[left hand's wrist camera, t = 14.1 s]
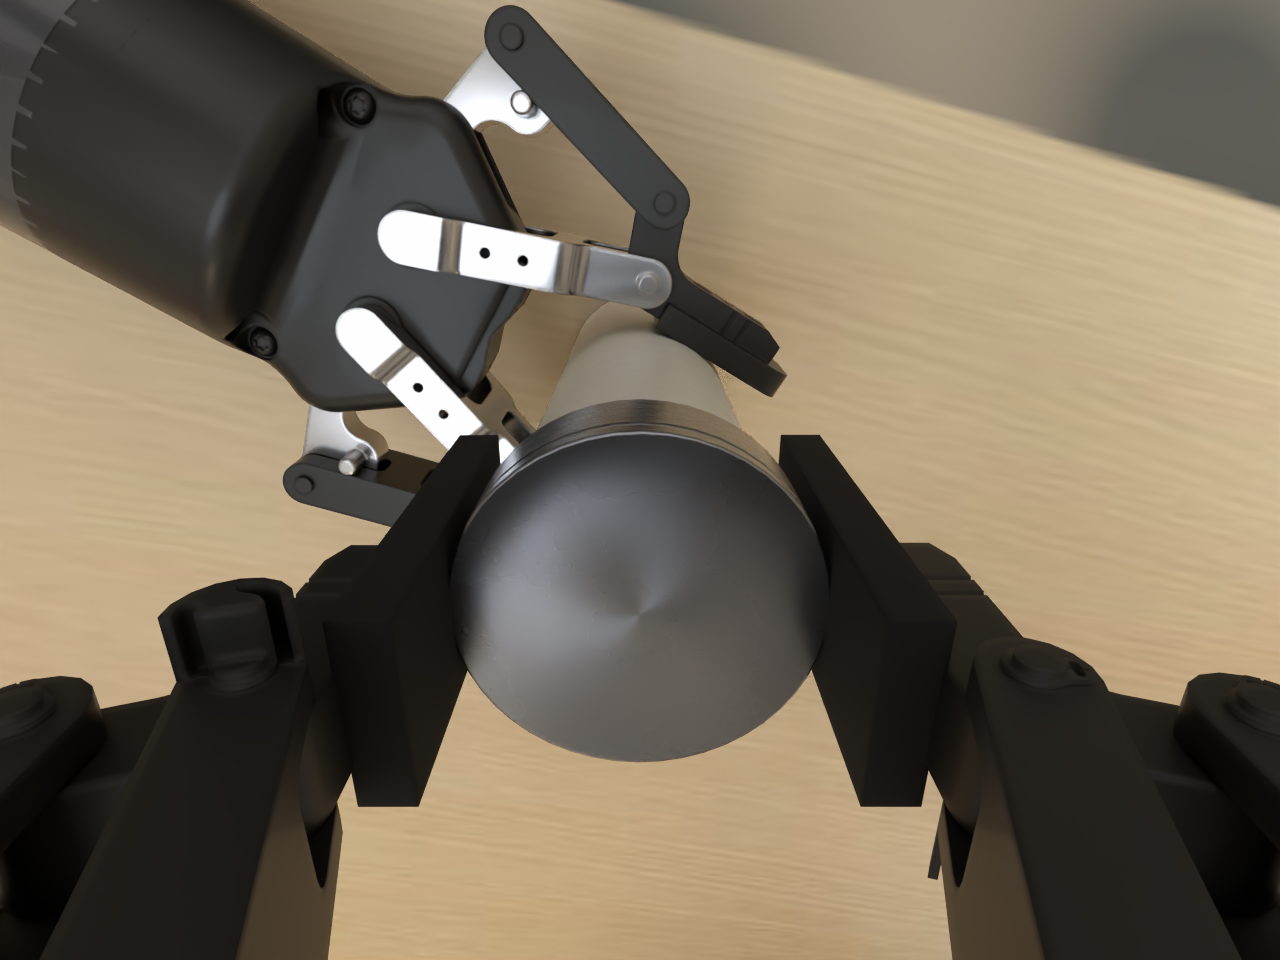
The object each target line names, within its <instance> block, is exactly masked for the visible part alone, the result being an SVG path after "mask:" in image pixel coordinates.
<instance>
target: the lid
mask: <svg viewBox="0 0 1280 960" xmlns="http://www.w3.org/2000/svg"><path fill="white" fill-rule="evenodd" d="M449 593H450V602H451V611H452V619H453V628H454V636H455V642H456V645H457V648H458V651H459V654H460V656H461V658H462V660H463V662H464V664H465V666H466V668H467V670H468V672H469V673H470V675H471V676H472V678H473V679H474V681H475V682H476V683H477V685H478V686H479V688H480V689H481V691H482V692H483V693H484V694H485V695H486V696H487V697H488V698H489V699H490V701H491V702H492V703H493V704H494V705H495V706H496V707H497V708H498V709H499V710H501V711H502V712H503V713H504V714H505V715H506V716H508V717H509V718H510V719H511V720H512V721H514V722H515V723H517V724H518V725H520V726H521V727H522V728H524V729H525V730H527V731H528V732H530V733H532V734H534V735H536V736H537V737H539V738H541V739H543V740H545V741H547V742H549V743H551V744H554V745H556V746H559V747H561V748H564V749H566V750H569V751H572V752H576V753H579V754H583V755H587V756H590V757H595V758H601V759H607V760H613V761H627V762H653V761H665V760H672V759H679V758H684V757H688V756H692V755H696V754H700V753H704V752H707V751H709V750H712V749H715V748H718V747H720V746H723V745H726V744H728V743H730V742H732V741H734V740H736V739H738V738H740V737H742V736H744V735H746V734H747V733H749V732H750V731H752V730H753V729H755V728H756V727H758V726H759V725H761V724H763V723H764V722H765V721H766V720H768V719H769V718H770V717H771V716H772V715H774V714H775V713H776V712H777V711H778V710H780V709H781V708H782V707H783V706H784V705H785V704H786V702H787V701H788V700H789V699H790V698H791V697H792V696H793V695H794V694H795V693H796V691H797V690H798V689H799V687H800V686H801V685H802V683H803V682H804V680H805V679H806V678H807V676H808V675H809V673H810V671H811V669H812V667H813V665H814V663H815V662H816V660H817V658H818V656H819V653H820V650H821V648H822V645H823V642H824V638H825V631H826V623H827V614H828V605H829V596H830V574H829V568H828V564H827V560H826V556H825V553H824V549H823V547H822V544H821V542H820V540H819V537H818V535H817V533H816V530H815V528H814V526H813V524H812V522H811V520H810V519H809V517H808V515H807V513H806V511H805V509H804V507H803V505H802V503H801V501H800V499H799V497H798V495H797V493H796V492H795V490H794V488H793V486H792V484H791V483H790V481H789V479H788V478H787V476H786V474H785V473H784V471H783V470H782V468H781V467H780V466H779V464H778V463H777V462H776V461H775V460H774V458H773V457H772V456H771V455H770V454H769V453H768V451H767V450H765V449H764V448H763V447H762V446H761V445H760V444H759V443H758V442H757V441H755V440H754V439H753V438H752V437H751V436H749V435H748V434H747V433H745V432H744V431H742V430H741V429H739V428H738V427H736V426H735V425H733V424H732V423H730V422H728V421H726V420H724V419H722V418H720V417H718V416H716V415H714V414H712V413H709V412H706V411H703V410H700V409H697V408H694V407H691V406H688V405H683V404H678V403H673V402H668V401H660V400H647V399H634V400H617V401H611V402H606V403H600V404H595V405H591V406H588V407H585V408H582V409H579V410H576V411H572V412H570V413H568V414H566V415H564V416H561V417H559V418H557V419H555V420H553V421H551V422H549V423H547V424H546V425H544V426H543V427H541V428H540V429H538V430H537V431H535V432H533V433H532V434H531V435H529V436H528V437H527V438H526V439H525V440H524V441H522V442H521V443H520V444H519V445H518V446H517V447H515V448H514V449H513V450H512V452H511V453H510V454H509V455H508V456H507V457H506V458H505V459H504V461H503V462H502V463H501V464H500V465H499V467H498V468H497V470H496V471H495V473H494V474H493V476H492V477H491V479H490V480H489V482H488V484H487V486H486V488H485V489H484V491H483V493H482V495H481V497H480V499H479V501H478V503H477V505H476V507H475V508H474V510H473V512H472V514H471V516H470V518H469V520H468V522H467V524H466V526H465V528H464V530H463V532H462V534H461V537H460V539H459V541H458V543H457V545H456V549H455V552H454V556H453V559H452V563H451V566H450V573H449Z"/></svg>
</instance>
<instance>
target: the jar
mask: <svg viewBox="0 0 1280 960" xmlns="http://www.w3.org/2000/svg"><path fill="white" fill-rule="evenodd" d="M634 399H647V400H660V401H668V402H673V403H678V404H683V405H688V406H691V407H694V408H697V409H700V410H703V411H706V412H709V413H712V414H714V415H716V416H718V417H720V418H722V419H724V420H726V421H728V422H730V423H732V424H733V425H735V426H736V427H738V428H739V429H741V427H740V424H739V422H738V420H737V417H736V415H735V413H734V410H733V408H732V406H731V403H730V401H729V399H728V396H727V394H726V392H725V390H724V387H723V385H722V383H721V380H720V378H719V376H718V373H717V371H716V369H715V366H714V364H713V363H712V362H710V361H709V360H707V359H705V358H704V357H702V356H700V355H699V354H697V353H696V352H694V351H693V350H691V349H690V348H688V347H687V346H685V345H683V344H681V343H679V342H677V341H676V340H674V339H672V338H671V337H669V336H667V335H666V334H664V333H662V332H661V331H659V330H658V329H656V328H655V324H654V316H652V315H651V314H649V313H647V312H646V311H644V310H643V309H641V308H639V307H634V306H629V305H624V304H619V303H614V302H607V303H606V304H604V305H602V306H601V307H600V308H598V309H597V310H596V311H595V312H594V313H593V314H592V315H591V316H590V317H589V318H588V319H587V321H586V322H585V323H584V325H583V327H582V328H581V330H580V332H579V335H578V337H577V339H576V341H575V344H574V346H573V348H572V351H571V353H570V355H569V358H568V360H567V362H566V365H565V367H564V369H563V371H562V374H561V376H560V378H559V381H558V383H557V385H556V388H555V390H554V392H553V394H552V397H551V399H550V401H549V404H548V406H547V408H546V411H545V413H544V415H543V418H542V420H541V422H540V424H539V427H538V429H540V428H541V427H543V426H544V425H546V424H547V423H549V422H551V421H553V420H555V419H557V418H559V417H561V416H564V415H566V414H568V413H570V412H572V411H576V410H579V409H582V408H585V407H588V406H591V405H595V404H600V403H606V402H611V401H617V400H634ZM538 429H537V430H538ZM741 430H742V429H741Z"/></svg>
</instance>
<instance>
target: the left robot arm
mask: <svg viewBox="0 0 1280 960" xmlns="http://www.w3.org/2000/svg"><path fill="white" fill-rule="evenodd" d="M500 464H501V462H500V449H499V436H498V435H460V436H459V437H458V438H457V440H456V441H455V442H454V444H453V445H452V446H451V448H450V449H449V450H448V452H447V453H446V454H445V456H444V457H443V458H442V460H441V461H440V463H439V464H438V465H437V467H436V468H435V469H434V471H433V472H432V473H431V475H430V476H429V477H428V479H427V480H426V481H425V483H424V484H423V485H422V487H421V488H420V489H419V491H418V492H417V494H416V495H415V496H414V498H413V499H412V500H411V502H410V503H409V504H408V506H407V507H406V508H405V510H404V511H403V512H402V514H401V515H400V516H399V518H398V519H397V521H396V522H395V523H394V525H393V526H392V527H391V529H390V530H389V531H388V533H387V534H386V535H385V537H384V538H383V539H382V541H381V542H380V543H379V545H350V546H349V547H347V548H345V549H344V550H342V551H340V552H339V553H337V554H335V555H334V556H332V557H330V558H329V559H327V560H325V561H324V562H323V563H322V564H321V566H320V567H319V568H318V569H317V570H316V571H315V573H314V574H313V575H312V576H311V577H310V578H309V583H305V584H304V585H303V587H302V588H301V589H300V590H299V591H298V593H297V594H296V598H294V595H293V590H292V588H291V587H289V586H288V585H286V584H285V583H284V582H282V581H278V580H273V579H268V578H244V579H236V580H232V581H227V582H222V583H217V584H213V585H211V586H208V587H205V588H203V589H200V590H197V591H194V592H192V593H190V594H188V595H186V596H184V597H183V598H181V599H179V600H177V601H176V602H174V603H172V604H170V605H169V606H168V607H167V608H166V609H165V611H164V612H163V613H162V614H161V615H160V616H159V617H158V621H159V624H160V628H161V631H162V635H163V638H164V641H165V645H166V648H167V651H168V655H169V658H170V661H171V665H172V668H173V671H174V675H175V678H176V684H175V686H174V688H173V690H172V692H171V694H170V695H167V696H163V697H160V698H155V699H150V700H144V701H139V702H134V703H129V704H124V705H119V706H114V707H109V708H104V709H100V707H99V704H98V701H97V698H96V695H95V692H94V690H93V687H92V685H90V684H89V683H87V682H86V681H84V680H83V679H81V678H75V677H66V676H57V677H49V678H41V679H31V680H27V681H22V682H20V684H16V683H15V684H12V685H9V686H6V687H3V688H1V689H0V960H328V952H329V944H330V935H331V927H332V918H333V910H334V901H335V893H336V884H337V876H338V868H339V859H340V851H341V842H342V834H343V831H342V825H341V818H340V813H339V809H338V804H337V801H338V799H339V796H340V794H341V792H342V790H343V788H344V786H345V784H346V782H347V780H348V778H349V776H350V774H351V773H352V778H353V783H354V788H355V793H356V798H357V804H358V807H419V804H420V801H421V798H422V796H423V793H424V790H425V787H426V784H427V782H428V779H429V776H430V773H431V771H432V768H433V765H434V762H435V759H436V757H437V754H438V751H439V748H440V746H441V743H442V740H443V737H444V734H445V732H446V729H447V726H448V723H449V720H450V718H451V715H452V712H453V709H454V707H455V704H456V701H457V698H458V695H459V693H460V690H461V687H462V684H463V682H464V679H465V676H466V673H467V668H466V666H465V664H464V662H463V660H462V658H461V656H460V654H459V651H458V648H457V645H456V642H455V636H454V628H453V619H452V611H451V602H450V593H449V573H450V566H451V563H452V559H453V556H454V552H455V549H456V545H457V543H458V541H459V539H460V537H461V534H462V532H463V530H464V528H465V526H466V524H467V522H468V520H469V518H470V516H471V514H472V512H473V510H474V508H475V507H476V505H477V503H478V501H479V499H480V497H481V495H482V493H483V491H484V489H485V488H486V486H487V484H488V482H489V480H490V479H491V477H492V476H493V474H494V473H495V471H496V470H497V468H498V467H499V465H500ZM779 466H780V467H781V468H782V470H783V471H784V473H785V474H786V476H787V478H788V479H789V481H790V483H791V484H792V486H793V488H794V490H795V492H796V493H797V495H798V497H799V499H800V501H801V503H802V505H803V507H804V509H805V511H806V513H807V515H808V517H809V519H810V520H811V522H812V524H813V526H814V528H815V530H816V533H817V535H818V537H819V540H820V542H821V544H822V547H823V549H824V553H825V556H826V560H827V564H828V568H829V574H830V596H829V605H828V614H827V623H826V631H825V638H824V642H823V645H822V648H821V650H820V653H819V656H818V658H817V660H816V662H815V663H814V665H813V667H812V672H813V675H814V678H815V681H816V683H817V686H818V689H819V692H820V694H821V697H822V700H823V703H824V706H825V708H826V711H827V714H828V717H829V719H830V722H831V725H832V728H833V731H834V733H835V736H836V739H837V742H838V744H839V747H840V750H841V753H842V756H843V758H844V761H845V764H846V767H847V770H848V772H849V775H850V778H851V781H852V783H853V786H854V789H855V792H856V795H857V797H858V800H859V803H860V806H861V807H921V805H922V800H923V795H924V790H925V785H926V780H927V775H928V770H929V772H930V774H931V776H932V778H933V780H934V782H935V784H936V786H937V788H938V790H939V792H940V794H941V796H942V798H943V804H942V809H941V813H940V818H939V823H938V828H937V832H936V837H935V842H934V846H933V851H932V856H931V861H930V866H929V873H928V878H932V879H936V880H938V875H939V870H940V866H942V874H943V883H944V891H945V899H946V908H947V916H948V925H949V933H950V942H951V950H952V958H953V960H1280V685H1279V684H1276V683H1273V682H1270V681H1267V680H1264V681H1262V680H1260V678H1256V677H1251V676H1246V675H1243V676H1242V675H1235V674H1227V673H1211V674H1202V675H1198V676H1197V677H1195V678H1194V679H1192V680H1191V681H1190V682H1188V684H1187V687H1186V690H1185V693H1184V696H1183V698H1182V701H1181V704H1180V706H1178V705H1172V704H1167V703H1162V702H1157V701H1152V700H1147V699H1142V698H1136V697H1131V696H1126V695H1121V694H1117V693H1113V692H1109V691H1108V689H1107V687H1106V685H1105V683H1104V681H1103V680H1102V678H1101V677H1100V676H1099V675H1098V673H1097V672H1096V671H1095V670H1094V669H1093V667H1092V666H1090V665H1089V664H1087V663H1086V662H1084V661H1083V660H1081V659H1080V658H1079V657H1077V656H1076V655H1074V654H1073V653H1070V652H1068V651H1066V650H1063V649H1061V648H1059V647H1056V646H1054V645H1052V644H1049V643H1045V642H1041V641H1037V640H1032V639H1028V638H1023V637H1022V635H1021V634H1020V633H1019V632H1018V631H1017V630H1016V628H1015V627H1014V626H1013V625H1012V624H1011V623H1010V621H1009V620H1008V619H1007V618H1006V617H1005V616H1004V614H1003V613H1002V612H1001V611H1000V610H999V609H998V608H997V606H996V605H995V604H994V603H993V602H992V601H991V599H990V598H989V597H988V596H987V595H984V591H983V590H982V589H981V588H980V587H979V585H978V584H977V583H976V582H975V581H974V580H971V576H970V575H969V574H968V573H967V572H966V570H965V569H964V568H963V567H962V566H961V565H960V563H959V562H958V561H957V560H956V559H955V558H954V557H952V556H950V555H949V554H947V553H945V552H943V551H942V550H940V549H938V548H937V547H935V546H933V545H932V544H930V543H899V542H898V540H897V539H896V538H895V536H894V535H893V534H892V532H891V531H890V530H889V528H888V527H887V525H886V524H885V523H884V521H883V520H882V519H881V517H880V516H879V515H878V513H877V512H876V511H875V509H874V508H873V507H872V505H871V504H870V503H869V501H868V500H867V498H866V497H865V496H864V494H863V493H862V492H861V490H860V489H859V488H858V486H857V485H856V484H855V482H854V481H853V480H852V478H851V477H850V476H849V474H848V473H847V471H846V470H845V469H844V467H843V466H842V465H841V463H840V462H839V461H838V459H837V458H836V457H835V455H834V454H833V453H832V451H831V450H830V449H829V447H828V446H827V444H826V443H825V442H824V440H823V439H822V438H821V436H820V435H781V441H780V454H779Z"/></svg>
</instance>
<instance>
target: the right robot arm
mask: <svg viewBox="0 0 1280 960" xmlns="http://www.w3.org/2000/svg"><path fill="white" fill-rule="evenodd" d="M484 37H485V44H486V47H485V48H484V49H483V51H482V52H481V53H480V54H479V56H478V57H477V58H476V59H475V61H474V62H473V63H472V64H471V66H470V67H469V68H468V70H467V71H466V72H465V73H464V75H463V76H462V77H461V78H460V80H459V81H458V82H457V83H456V85H455V86H454V87H453V88H452V90H451V91H450V92H449V93H448V95H447V96H446V97H445V98H444V100H441V99H438V98H434V97H429V96H408V95H402V94H397V93H395V92H393V91H391V90H389V89H387V88H386V87H384V86H382V85H381V84H379V83H378V82H376V81H374V80H373V79H371V78H370V77H368V76H366V75H365V74H363V73H362V72H360V71H358V70H357V69H355V68H354V67H352V66H350V65H349V64H347V63H346V62H344V61H343V60H341V59H339V58H338V57H336V56H335V55H333V54H331V53H330V52H328V51H327V50H325V49H323V48H322V47H320V46H319V45H317V44H316V43H314V42H312V41H311V40H309V39H308V38H306V37H304V36H303V35H301V34H300V33H298V32H296V31H295V30H293V29H292V28H290V27H288V26H287V25H285V24H284V23H282V22H281V21H279V20H277V19H276V18H274V17H273V16H271V15H269V14H268V13H266V12H265V11H263V10H261V9H260V8H258V7H257V6H255V5H254V4H252V3H250V2H249V1H247V0H0V225H1V226H3V227H5V228H7V229H8V230H10V231H12V232H14V233H16V234H18V235H20V236H22V237H24V238H26V239H27V240H29V241H31V242H33V243H35V244H37V245H39V246H41V247H43V248H45V249H47V250H48V251H50V252H52V253H54V254H55V255H57V256H59V257H61V258H63V259H65V260H66V261H68V262H70V263H72V264H74V265H76V266H78V267H80V268H82V269H83V270H85V271H87V272H89V273H91V274H93V275H95V276H97V277H98V278H100V279H102V280H104V281H106V282H108V283H110V284H112V285H114V286H116V287H117V288H119V289H121V290H123V291H125V292H127V293H129V294H131V295H132V296H134V297H136V298H138V299H140V300H142V301H144V302H146V303H147V304H149V305H151V306H153V307H155V308H157V309H159V310H161V311H163V312H164V313H166V314H168V315H170V316H172V317H174V318H176V319H178V320H179V321H181V322H183V323H185V324H187V325H189V326H191V327H193V328H194V329H196V330H198V331H200V332H202V333H204V334H206V335H208V336H209V337H211V338H213V339H215V340H217V341H219V342H221V343H223V344H225V345H228V346H230V347H233V348H235V349H238V350H240V351H243V352H245V353H248V354H250V355H253V356H255V357H258V358H260V359H262V360H264V361H266V362H267V363H269V364H270V365H271V366H273V367H274V368H275V369H276V370H277V371H278V372H279V373H281V374H282V375H283V376H284V378H285V379H286V380H287V381H288V382H289V384H290V385H291V386H292V388H293V389H294V390H295V391H296V393H297V394H298V395H299V396H300V397H301V398H302V399H303V400H304V401H306V402H307V403H308V404H310V406H309V413H308V420H307V428H306V435H305V442H304V449H303V455H302V457H301V458H300V459H299V460H298V461H297V462H295V463H294V464H293V465H291V466H290V467H289V468H288V469H287V470H286V471H285V473H284V476H283V485H284V488H285V490H286V492H287V493H288V494H289V496H291V497H292V498H293V499H294V500H296V501H298V502H300V503H303V504H307V505H311V506H315V507H318V508H322V509H326V510H330V511H333V512H337V513H341V514H345V515H348V516H352V517H356V518H360V519H363V520H367V521H371V522H375V523H378V524H382V525H386V526H390V527H392V526H393V525H394V523H395V522H396V521H397V519H398V518H399V516H400V515H401V514H402V512H403V511H404V510H405V508H406V507H407V506H408V504H409V503H410V502H411V500H412V499H413V498H414V496H415V495H416V494H417V492H418V491H419V489H420V488H421V487H422V485H423V484H424V483H425V481H426V480H427V479H428V477H429V476H430V475H431V473H432V472H433V471H434V469H435V468H436V467H437V465H438V464H439V463H437V462H433V461H430V460H426V459H423V458H419V457H415V456H412V455H408V454H405V453H401V452H397V451H394V450H390V449H388V444H387V442H386V440H385V438H384V437H383V436H382V435H381V434H380V433H379V432H377V431H375V430H373V429H370V428H368V427H367V426H365V425H364V424H363V423H362V422H361V421H360V420H359V418H358V416H357V414H356V411H362V410H374V409H386V408H398V407H407V408H408V409H409V410H410V411H411V412H412V414H413V415H414V416H415V417H416V418H417V419H418V420H419V421H420V422H421V423H422V424H423V425H424V426H425V427H426V428H427V429H428V430H429V431H430V432H431V433H432V434H433V435H434V436H435V437H436V438H437V439H438V440H439V441H440V442H441V443H442V444H443V445H444V447H445V448H446V449H447V450H449V449H450V448H451V446H452V445H453V444H454V442H455V441H456V440H457V438H458V437H459V436H460V435H498V436H499V449H500V462H501V463H502V462H503V461H504V459H505V458H506V457H507V456H508V455H509V454H510V453H511V452H512V450H513V449H514V448H515V447H517V446H518V445H519V444H520V443H521V442H522V441H524V440H525V439H526V438H527V437H528V436H529V435H531V434H532V433H533V432H535V431H536V430H535V429H534V428H533V427H532V426H531V424H530V423H529V422H528V421H527V420H526V419H525V418H524V417H523V416H522V415H521V413H520V412H519V411H518V410H517V409H516V407H515V405H514V402H513V400H512V398H511V396H510V395H509V393H508V392H507V391H506V389H505V388H504V387H503V386H502V385H501V384H500V383H499V382H498V381H497V379H496V378H495V377H494V376H493V375H492V374H491V373H490V372H489V369H490V367H491V365H492V363H493V361H494V359H495V358H496V356H497V354H498V352H499V348H500V343H501V338H502V334H503V329H504V325H505V323H506V322H507V321H508V320H509V319H510V318H511V317H512V316H513V315H514V314H515V312H516V311H517V310H518V309H519V308H520V307H521V306H522V305H523V304H524V303H525V301H526V299H527V297H528V295H529V293H530V292H531V290H532V289H534V290H539V291H544V292H549V293H554V294H560V295H578V296H584V297H589V298H594V299H599V300H604V301H609V302H614V303H619V304H624V305H629V306H634V307H639V308H641V309H643V310H644V311H646V312H647V313H649V314H651V315H652V316H654V324H655V328H656V329H658V330H659V331H661V332H662V333H664V334H666V335H667V336H669V337H671V338H672V339H674V340H676V341H677V342H679V343H681V344H683V345H685V346H687V347H688V348H690V349H691V350H693V351H694V352H696V353H697V354H699V355H700V356H702V357H704V358H705V359H707V360H709V361H710V362H712V363H714V364H715V365H717V366H718V367H720V368H722V369H723V370H725V371H727V372H728V373H730V374H732V375H733V376H735V377H737V378H738V379H740V380H742V381H743V382H745V383H746V384H748V385H750V386H751V387H753V388H755V389H756V390H758V391H760V392H761V393H763V394H765V395H767V396H769V397H773V395H774V394H775V392H776V391H777V390H778V388H779V387H780V385H781V384H782V382H783V381H784V379H785V378H786V376H787V374H786V373H785V372H784V371H783V369H782V368H781V367H780V366H779V365H778V363H776V362H775V361H774V360H773V357H774V356H775V354H776V353H777V351H778V350H779V348H780V347H779V346H778V344H777V343H776V341H775V340H774V339H773V337H772V336H771V334H770V333H769V331H768V330H767V329H766V328H765V327H764V326H763V325H762V324H761V323H760V322H759V321H757V320H756V319H754V318H753V317H751V316H749V315H748V314H746V313H745V312H743V311H741V310H740V309H738V308H737V307H735V306H734V305H732V304H730V303H729V302H727V301H726V300H724V299H722V298H721V297H719V296H718V295H716V294H715V293H713V292H711V291H710V290H708V289H707V288H705V287H703V286H702V285H700V284H699V283H697V282H696V281H694V280H692V279H691V278H689V277H688V276H686V275H685V274H684V273H683V272H682V270H681V269H680V266H679V262H678V249H679V244H680V239H681V234H682V229H683V224H684V219H685V218H686V216H687V214H688V211H689V207H690V198H689V194H688V191H687V189H686V187H685V186H684V185H683V183H682V182H681V181H680V180H679V179H678V178H677V177H676V176H675V174H674V173H673V172H672V171H671V170H670V169H669V168H668V167H667V166H666V164H665V163H664V162H663V161H662V160H661V159H660V158H659V157H658V156H657V154H656V153H655V152H654V151H653V150H652V149H651V148H650V147H649V146H648V144H647V143H646V142H645V141H644V140H643V139H642V138H641V137H640V136H639V135H638V133H637V132H636V131H635V130H634V129H633V128H632V127H631V126H630V125H629V123H628V122H627V121H626V120H625V119H624V118H623V117H622V116H621V115H620V113H619V112H618V111H617V110H616V109H615V108H614V107H613V106H612V105H611V104H610V102H609V101H608V100H607V99H606V98H605V97H604V96H603V95H602V94H601V92H600V91H599V90H598V89H597V88H596V87H595V86H594V85H593V84H592V82H591V81H590V80H589V79H588V78H587V77H586V76H585V75H584V74H583V72H582V71H581V70H580V69H579V68H578V67H577V66H576V65H575V64H574V63H573V61H572V60H571V59H570V58H569V57H568V56H567V55H566V54H565V53H564V51H563V50H562V49H561V48H560V47H559V46H558V45H557V44H556V43H555V41H554V40H553V39H552V38H551V37H550V36H549V35H548V34H547V33H546V31H545V30H544V29H543V28H542V27H541V26H540V25H539V24H538V23H537V22H536V20H535V19H534V18H533V17H532V16H531V15H530V14H529V13H528V12H527V11H526V10H524V9H523V8H520V7H518V6H514V5H507V6H503V7H500V8H498V9H497V10H495V11H494V12H493V13H492V14H491V16H490V17H489V19H488V21H487V23H486V26H485V34H484ZM494 124H505V125H508V126H509V127H510V128H512V129H513V130H514V131H516V132H518V133H520V134H522V135H524V136H527V137H538V136H541V135H543V134H545V133H546V132H547V131H549V130H550V128H551V127H552V126H553V125H554V124H555V126H556V127H557V128H558V129H559V130H560V131H561V132H562V133H563V134H564V135H565V136H566V137H567V138H568V139H569V140H570V142H571V143H572V144H573V145H574V146H575V147H576V148H577V149H578V150H579V151H580V152H581V153H582V154H583V155H584V156H585V158H586V159H587V160H588V161H589V162H590V163H591V164H592V165H593V166H594V167H595V168H596V169H597V170H598V171H599V172H600V173H601V175H602V176H603V177H604V178H605V179H606V180H607V181H608V182H609V183H610V184H611V185H612V186H613V187H614V188H615V189H616V191H617V192H618V193H619V194H620V195H621V196H622V197H623V198H624V199H625V200H626V201H627V202H628V203H629V204H630V205H631V207H632V208H633V209H634V210H635V211H636V213H635V218H634V224H633V230H632V235H631V241H630V246H629V247H628V246H623V245H618V244H613V243H609V242H604V241H599V240H594V239H590V238H587V237H584V236H580V235H576V234H572V233H567V232H562V231H557V230H552V229H547V228H543V227H538V226H533V225H528V224H523V223H522V220H521V218H520V216H519V214H518V212H517V209H516V207H515V205H514V203H513V201H512V199H511V196H510V194H509V192H508V190H507V188H506V185H505V183H504V181H503V179H502V177H501V175H500V172H499V170H498V168H497V166H496V164H495V161H494V159H493V157H492V155H491V153H490V150H489V148H488V146H487V144H486V142H485V140H484V137H483V135H482V131H483V130H484V129H486V128H487V127H489V126H491V125H494ZM444 410H446V411H447V412H448V413H446V412H445V411H444Z"/></svg>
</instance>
